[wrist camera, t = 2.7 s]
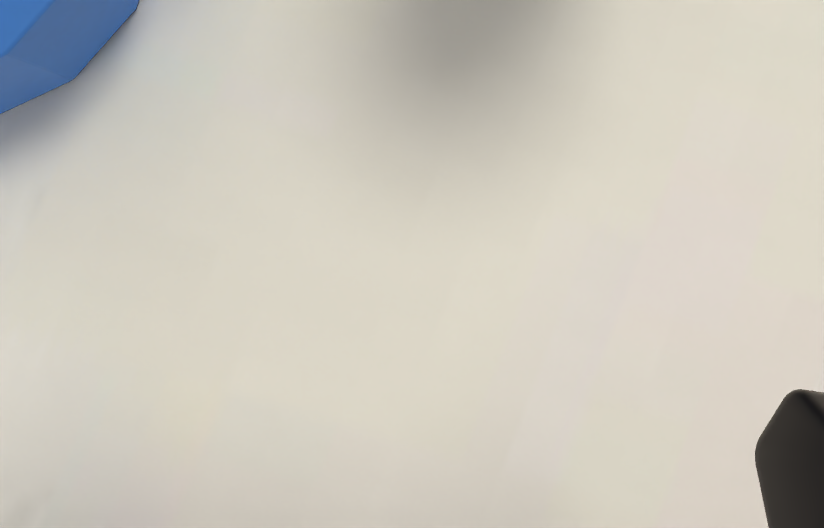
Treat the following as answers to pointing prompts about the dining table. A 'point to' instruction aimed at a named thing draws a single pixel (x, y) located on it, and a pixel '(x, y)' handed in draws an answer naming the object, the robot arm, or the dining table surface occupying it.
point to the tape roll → (51, 42)
